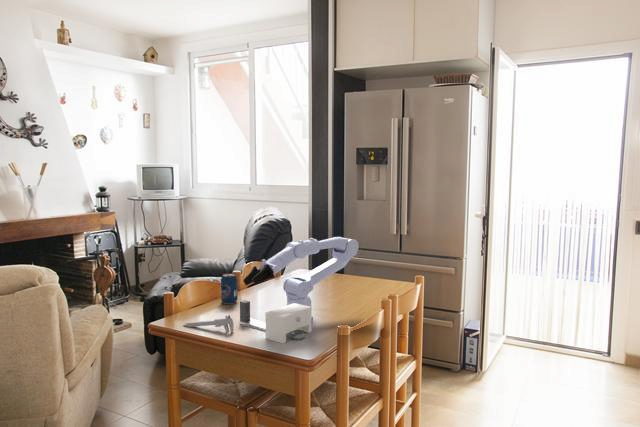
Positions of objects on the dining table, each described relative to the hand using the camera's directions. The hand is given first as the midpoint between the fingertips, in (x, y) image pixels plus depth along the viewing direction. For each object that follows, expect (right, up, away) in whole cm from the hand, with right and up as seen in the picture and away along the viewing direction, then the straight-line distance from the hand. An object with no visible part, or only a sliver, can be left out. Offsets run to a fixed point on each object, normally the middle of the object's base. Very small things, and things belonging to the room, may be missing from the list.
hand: (249, 282), depth 174 cm
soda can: (-14, -14, +38) cm, 43 cm away
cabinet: (+14, -18, -2) cm, 23 cm away
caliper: (-15, -18, +4) cm, 24 cm away
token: (+17, -19, -4) cm, 26 cm away
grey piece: (+2, -17, +7) cm, 19 cm away
